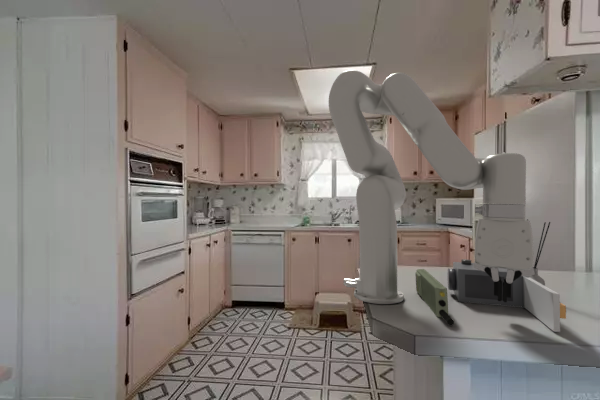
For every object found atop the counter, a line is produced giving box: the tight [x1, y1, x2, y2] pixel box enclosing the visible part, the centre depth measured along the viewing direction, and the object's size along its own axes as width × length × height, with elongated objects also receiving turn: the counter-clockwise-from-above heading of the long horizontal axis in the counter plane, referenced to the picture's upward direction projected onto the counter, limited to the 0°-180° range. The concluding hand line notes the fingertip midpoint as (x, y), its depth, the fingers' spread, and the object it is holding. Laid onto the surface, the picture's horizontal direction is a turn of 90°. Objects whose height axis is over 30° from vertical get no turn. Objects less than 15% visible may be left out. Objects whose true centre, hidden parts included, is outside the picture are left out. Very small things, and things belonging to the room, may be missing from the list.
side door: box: [523, 276, 567, 333], centre depth 64 cm, size 15×2×7 cm, turn 162°
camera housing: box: [446, 258, 526, 309], centre depth 79 cm, size 16×10×9 cm, turn 70°
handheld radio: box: [415, 268, 455, 326], centre depth 73 cm, size 7×3×25 cm
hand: (502, 299), depth 65 cm, fingers closed
